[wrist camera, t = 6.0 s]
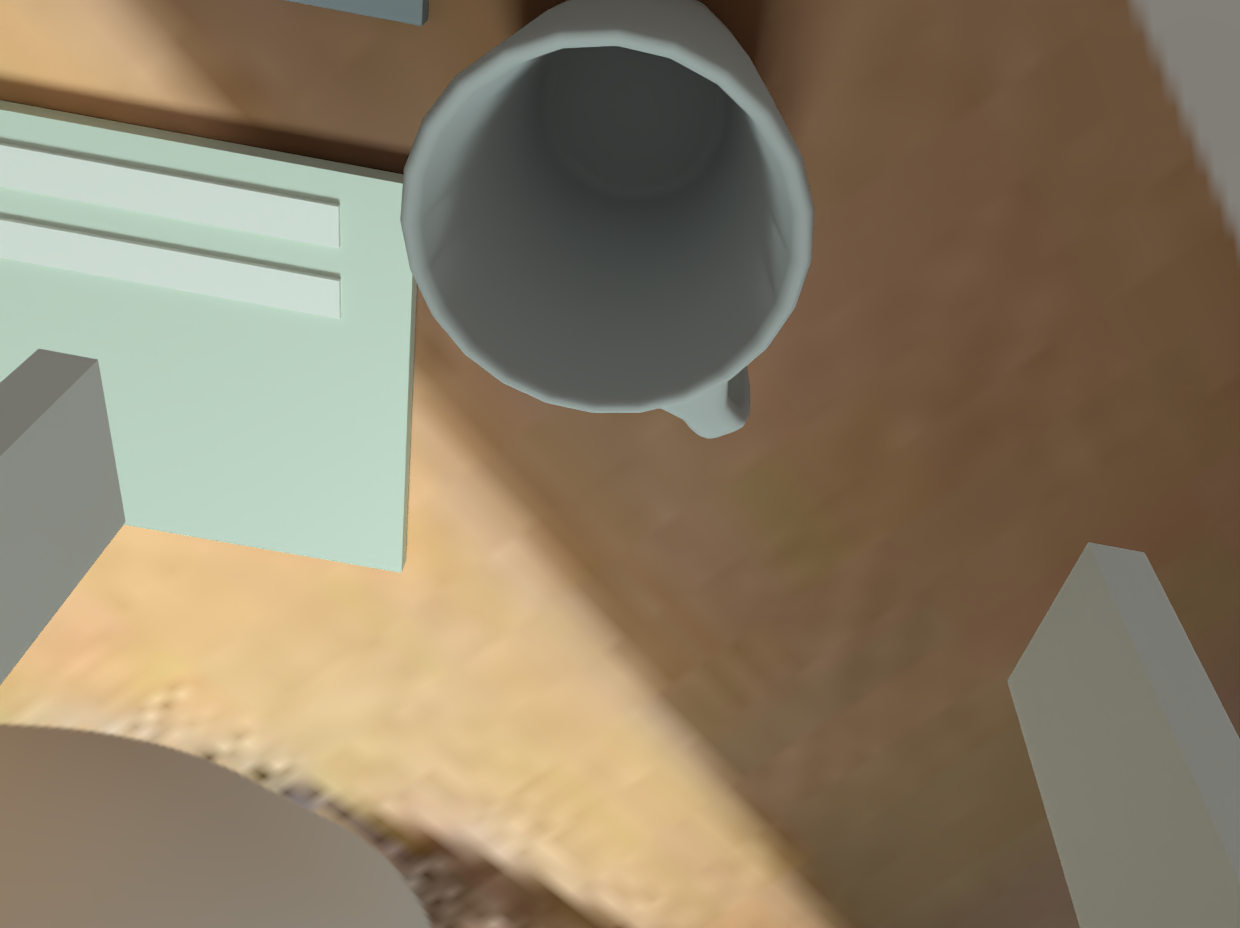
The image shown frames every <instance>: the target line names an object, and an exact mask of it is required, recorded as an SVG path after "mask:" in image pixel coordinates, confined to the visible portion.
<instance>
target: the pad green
mask: <svg viewBox="0 0 1240 928" xmlns="http://www.w3.org/2000/svg"><path fill="white" fill-rule="evenodd" d="M402 188H403V174H398V173H393V172H387V171H382V170H377V169H371V168H366V167H360V166H355V165H349V164H344V163H339V162H333V161H328V160H322V159H317V158H312V157H306V156H301V155H295V154H290V153H284V152H279V151H274V150H268V149H263V148H257V147H252V146H247V145H241V144H236V143H230V142H225V141H219V140H214V139H209V138H203V137H198V136H192V135H187V134H181V133H176V132H171V131H165V130H160V129H154V128H149V127H144V126H138V125H133V124H127V123H122V122H116V121H111V120H106V119H100V118H95V117H89V116H84V115H78V114H73V113H68V112H62V111H57V110H51V109H46V108H41V107H35V106H30V105H24V104H19V103H13V102H8V101H3V100H0V382H2V381H3V380H4V379H5V378H6V377H7V376H8V375H9V374H11V373H12V372H13V371H14V370H15V369H16V368H17V367H18V366H20V365H21V364H22V363H23V362H24V361H25V360H26V359H27V358H29V357H30V356H31V355H32V354H33V353H34V352H35V351H37V350H38V349H44V350H50V351H55V352H60V353H66V354H71V355H77V356H82V357H87V358H93V359H98V362H99V368H100V374H101V379H102V385H103V391H104V397H105V403H106V409H107V415H108V421H109V427H110V432H111V438H112V444H113V450H114V456H115V462H116V468H117V474H118V480H119V485H120V491H121V497H122V503H123V509H124V515H125V521H126V522H125V523H124V524H123V525H129V526H134V527H140V528H146V529H152V530H158V531H163V532H169V533H175V534H181V535H186V536H192V537H198V538H204V539H209V540H215V541H221V542H227V543H233V544H238V545H244V546H250V547H256V548H261V549H267V550H273V551H279V552H284V553H290V554H296V555H302V556H308V557H313V558H319V559H325V560H331V561H336V562H342V563H348V564H354V565H360V566H365V567H371V568H377V569H383V570H388V571H394V572H400V573H401V572H402V570H403V567H404V564H405V562H406V543H407V519H408V494H409V469H410V444H411V420H412V395H413V370H414V345H415V321H416V296H417V282H416V280H415V278H414V276H413V274H412V272H411V270H410V266H409V261H408V256H407V251H406V246H405V241H404V236H403V231H402V226H401V221H400V216H401V202H402Z"/></svg>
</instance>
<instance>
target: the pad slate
mask: <svg viewBox="0 0 1240 928" xmlns="http://www.w3.org/2000/svg"><path fill="white" fill-rule="evenodd" d="M287 1H292V2H297V3H303V4H308V5H313V6H318V7H324V8H329V9H334V10H340V11H345V12H350V13H356V14H361V15H366V16H371V17H377V18H382V19H387V20H393V21H398V22H403V23H409V24H414V25H419V26H422V25H423V24H424V23H425V22H426V21H427V20H428V0H287Z"/></svg>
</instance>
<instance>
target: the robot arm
mask: <svg viewBox="0 0 1240 928" xmlns="http://www.w3.org/2000/svg"><path fill="white" fill-rule="evenodd" d="M125 522H126V521H125V515H124V509H123V503H122V497H121V491H120V485H119V480H118V474H117V468H116V462H115V456H114V450H113V444H112V438H111V432H110V427H109V421H108V415H107V409H106V403H105V397H104V391H103V385H102V379H101V374H100V368H99V362H98V359H93V358H87V357H82V356H77V355H71V354H66V353H60V352H55V351H50V350H44V349H38V350H37V351H35V352H34V353H33V354H32V355H31V356H30V357H29V358H27V359H26V360H25V361H24V362H23V363H22V364H21V365H20V366H18V367H17V368H16V369H15V370H14V371H13V372H12V373H11V374H9V375H8V376H7V377H6V378H5V379H4V380H3V381H2V382H0V685H1V684H2V682H3V681H4V680H5V678H6V677H7V676H8V674H9V673H10V672H11V670H12V669H13V668H14V667H15V665H16V664H17V663H18V661H19V660H20V659H21V657H22V656H23V655H24V654H25V652H26V651H27V650H28V648H29V647H30V646H31V644H32V643H33V642H34V641H35V639H36V638H37V637H38V635H39V634H40V633H41V631H42V630H43V629H44V627H45V626H46V625H47V624H48V622H49V621H50V620H51V618H52V617H53V616H54V614H55V613H56V612H57V611H58V609H59V608H60V607H61V605H62V604H63V603H64V601H65V600H66V599H67V597H68V596H69V595H70V594H71V592H72V591H73V590H74V588H75V587H76V586H77V584H78V583H79V582H80V581H81V579H82V578H83V577H84V575H85V574H86V573H87V571H88V570H89V569H90V568H91V566H92V565H93V564H94V562H95V561H96V560H97V558H98V557H99V556H100V554H101V553H102V552H103V551H104V549H105V548H106V547H107V545H108V544H109V543H110V541H111V540H112V539H113V538H114V536H115V535H116V534H117V532H118V531H119V530H120V528H121V527H122V526H123V524H124V523H125ZM1007 682H1008V685H1009V689H1010V692H1011V695H1012V699H1013V702H1014V706H1015V709H1016V712H1017V716H1018V719H1019V722H1020V726H1021V729H1022V733H1023V736H1024V739H1025V743H1026V746H1027V750H1028V753H1029V756H1030V760H1031V763H1032V766H1033V770H1034V773H1035V777H1036V780H1037V783H1038V787H1039V790H1040V794H1041V797H1042V800H1043V804H1044V807H1045V811H1046V814H1047V817H1048V821H1049V824H1050V827H1051V831H1052V834H1053V838H1054V841H1055V844H1056V848H1057V851H1058V855H1059V858H1060V861H1061V865H1062V868H1063V872H1064V875H1065V878H1066V882H1067V885H1068V888H1069V892H1070V895H1071V899H1072V902H1073V905H1074V909H1075V912H1076V916H1077V919H1078V922H1079V926H1080V928H1240V739H1239V737H1238V735H1237V733H1236V731H1235V729H1234V727H1233V725H1232V723H1231V721H1230V719H1229V717H1228V715H1227V713H1226V712H1225V710H1224V708H1223V706H1222V704H1221V702H1220V700H1219V698H1218V696H1217V694H1216V692H1215V690H1214V688H1213V686H1212V684H1211V682H1210V680H1209V678H1208V676H1207V674H1206V672H1205V670H1204V668H1203V666H1202V664H1201V662H1200V661H1199V659H1198V657H1197V655H1196V653H1195V651H1194V649H1193V647H1192V645H1191V643H1190V641H1189V639H1188V637H1187V635H1186V633H1185V631H1184V629H1183V627H1182V625H1181V623H1180V621H1179V619H1178V617H1177V615H1176V613H1175V611H1174V609H1173V608H1172V606H1171V604H1170V602H1169V600H1168V598H1167V596H1166V594H1165V592H1164V590H1163V588H1162V586H1161V584H1160V582H1159V580H1158V578H1157V576H1156V574H1155V572H1154V570H1153V568H1152V566H1151V564H1150V562H1149V560H1148V558H1147V557H1146V555H1145V553H1144V552H1138V551H1133V550H1127V549H1122V548H1116V547H1111V546H1106V545H1100V544H1095V543H1089V542H1088V544H1087V545H1086V547H1085V549H1084V551H1083V552H1082V554H1081V556H1080V557H1079V559H1078V561H1077V562H1076V564H1075V566H1074V568H1073V569H1072V571H1071V573H1070V574H1069V576H1068V578H1067V580H1066V581H1065V583H1064V585H1063V586H1062V588H1061V590H1060V592H1059V593H1058V595H1057V597H1056V598H1055V600H1054V602H1053V604H1052V605H1051V607H1050V609H1049V610H1048V612H1047V614H1046V616H1045V617H1044V619H1043V621H1042V622H1041V624H1040V626H1039V627H1038V629H1037V631H1036V633H1035V634H1034V636H1033V638H1032V639H1031V641H1030V643H1029V645H1028V646H1027V648H1026V650H1025V651H1024V653H1023V655H1022V657H1021V658H1020V660H1019V662H1018V663H1017V665H1016V667H1015V669H1014V670H1013V672H1012V674H1011V675H1010V677H1009V679H1008V681H1007Z"/></svg>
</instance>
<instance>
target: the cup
mask: <svg viewBox="0 0 1240 928" xmlns="http://www.w3.org/2000/svg"><path fill="white" fill-rule="evenodd" d="M813 220H814V206H813V202H812V198H811V193H810V189H809V185H808V180H807V176H806V172H805V168H804V163H803V159H802V155H801V153H800V151H799V149H798V147H797V146H796V144H795V142H794V140H793V138H792V136H791V134H790V132H789V130H788V128H787V126H786V124H785V122H784V120H783V118H782V116H781V115H780V113H779V111H778V109H777V107H776V105H775V103H774V101H773V99H772V97H771V95H770V93H769V92H768V90H767V88H766V86H765V84H764V83H763V81H762V79H761V77H760V75H759V74H758V72H757V70H756V68H755V66H754V65H753V63H752V61H751V59H750V58H749V56H748V55H747V53H746V52H745V51H744V49H743V48H742V47H741V45H740V44H739V43H738V41H737V40H736V39H735V37H734V36H733V35H732V33H731V32H730V31H729V29H728V28H727V27H726V26H725V25H724V24H723V23H722V22H721V21H720V20H719V19H718V18H717V17H716V16H715V15H714V14H713V13H712V12H711V11H710V10H709V9H708V8H707V7H706V6H705V5H704V4H703V3H701V2H699V1H698V0H568V1H565V2H563V3H561V4H559V5H557V6H555V7H553V8H551V9H548V10H547V11H545V12H544V13H543V14H541V15H540V16H538V17H537V18H536V19H534V20H533V21H531V22H530V23H529V24H527V25H526V26H524V27H523V28H522V29H520V30H519V31H517V32H516V33H515V34H513V35H512V36H510V37H509V38H507V39H506V40H505V41H503V42H502V43H500V44H499V45H498V46H496V47H495V48H494V49H492V50H491V51H489V52H488V53H487V54H485V55H484V56H482V57H481V58H480V59H478V60H477V61H475V62H474V63H473V64H471V65H470V66H469V67H467V68H466V69H464V70H463V71H462V72H460V73H459V74H457V75H456V76H455V77H454V79H453V80H452V81H451V82H450V84H449V85H448V86H447V88H446V89H445V90H444V92H443V93H442V94H441V96H440V97H439V98H438V99H437V101H436V102H435V103H434V105H433V106H432V107H431V109H430V110H429V111H428V113H427V114H426V115H425V117H424V118H423V119H422V122H421V124H420V127H419V130H418V132H417V135H416V138H415V140H414V143H413V146H412V148H411V151H410V154H409V156H408V159H407V162H406V164H405V167H404V174H403V188H402V202H401V216H400V221H401V226H402V231H403V236H404V241H405V246H406V251H407V256H408V261H409V266H410V270H411V272H412V274H413V276H414V278H415V280H416V282H417V284H418V286H419V289H420V291H421V293H422V295H423V297H424V299H425V301H426V303H427V305H428V307H429V309H430V311H431V313H432V315H433V317H434V318H435V319H436V320H437V321H438V323H439V324H440V325H441V326H442V327H443V329H444V330H445V331H446V332H447V333H448V335H449V336H450V337H451V338H452V339H453V341H454V342H455V343H456V344H457V345H458V347H459V348H460V349H461V350H462V351H463V353H464V354H465V355H467V356H468V357H469V358H471V359H472V360H473V361H475V362H476V363H477V364H479V365H480V366H481V367H483V368H484V369H485V370H487V371H488V372H489V373H490V374H492V375H493V376H494V377H496V378H497V379H498V380H500V381H501V382H502V383H504V384H506V385H509V386H511V387H513V388H515V389H517V390H519V391H522V392H524V393H526V394H528V395H530V396H533V397H535V398H537V399H539V400H541V401H544V402H546V403H549V404H554V405H559V406H563V407H568V408H573V409H577V410H582V411H587V412H591V413H641V412H645V411H649V410H654V409H658V408H661V409H663V410H665V411H667V412H669V413H671V414H673V415H675V416H677V417H679V418H681V419H683V420H684V421H685V422H686V423H687V425H688V426H689V427H690V428H691V429H692V430H693V431H694V432H695V433H697V434H698V435H699V436H702V437H705V438H708V439H709V438H715V437H719V436H722V435H725V434H728V433H731V432H734V431H736V430H738V429H740V428H742V427H743V426H744V424H745V422H746V421H747V419H748V417H749V412H750V384H749V377H748V370H747V365H748V364H749V363H750V362H752V361H753V360H754V359H755V358H756V357H757V356H758V355H760V354H761V353H762V352H763V351H764V350H765V349H767V348H768V346H769V345H770V343H771V342H772V340H773V339H774V338H775V336H776V335H777V333H778V332H779V330H780V329H781V327H782V326H783V324H784V323H785V322H786V320H787V319H788V317H789V316H790V314H791V313H792V311H793V310H794V308H795V306H796V303H797V300H798V298H799V295H800V292H801V289H802V286H803V283H804V280H805V277H806V274H807V272H808V269H809V266H810V263H811V257H812V238H813Z"/></svg>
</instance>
